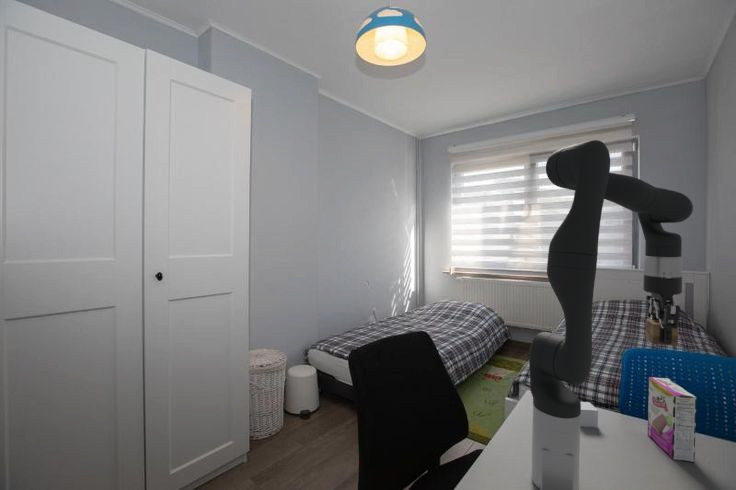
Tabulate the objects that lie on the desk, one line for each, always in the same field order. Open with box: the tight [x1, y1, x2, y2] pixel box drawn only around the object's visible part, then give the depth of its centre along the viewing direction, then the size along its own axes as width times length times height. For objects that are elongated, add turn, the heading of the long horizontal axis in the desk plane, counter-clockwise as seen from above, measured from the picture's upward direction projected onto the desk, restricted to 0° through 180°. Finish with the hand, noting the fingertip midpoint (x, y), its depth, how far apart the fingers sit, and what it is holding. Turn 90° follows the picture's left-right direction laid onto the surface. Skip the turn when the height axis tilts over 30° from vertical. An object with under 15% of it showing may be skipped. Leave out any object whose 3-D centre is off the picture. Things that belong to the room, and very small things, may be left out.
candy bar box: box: [647, 376, 697, 463], centre depth 90 cm, size 11×5×16 cm, turn 168°
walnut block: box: [645, 318, 679, 347], centre depth 90 cm, size 5×5×5 cm
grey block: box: [580, 401, 599, 428], centre depth 103 cm, size 5×5×5 cm
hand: (661, 339), depth 90 cm, fingers closed on walnut block, 5 cm apart
